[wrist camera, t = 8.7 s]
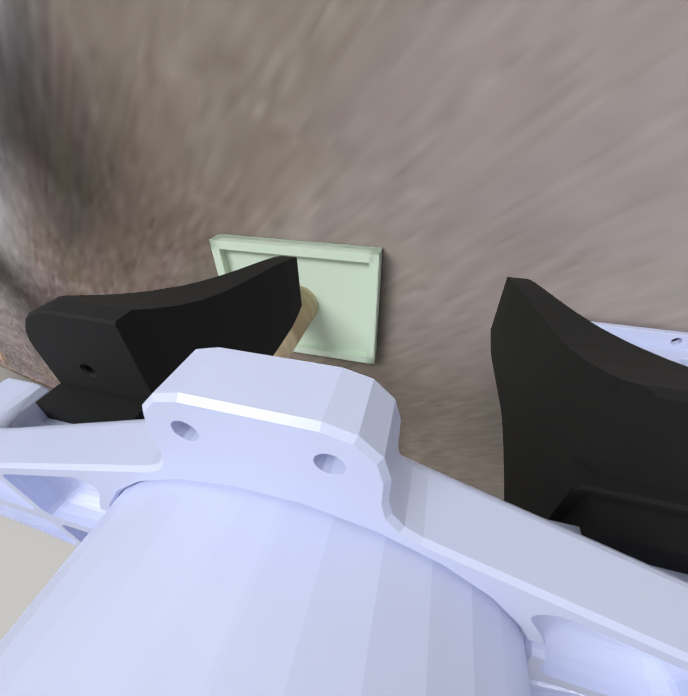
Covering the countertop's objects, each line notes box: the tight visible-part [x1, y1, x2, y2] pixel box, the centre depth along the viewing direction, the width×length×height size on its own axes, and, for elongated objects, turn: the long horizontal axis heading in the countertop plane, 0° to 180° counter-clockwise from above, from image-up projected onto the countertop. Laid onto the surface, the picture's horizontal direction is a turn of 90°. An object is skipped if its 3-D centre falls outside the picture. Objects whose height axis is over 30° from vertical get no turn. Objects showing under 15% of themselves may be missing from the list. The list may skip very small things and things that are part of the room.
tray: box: [209, 234, 382, 364], centre depth 25 cm, size 12×9×1 cm
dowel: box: [274, 286, 318, 359], centre depth 22 cm, size 3×3×9 cm
